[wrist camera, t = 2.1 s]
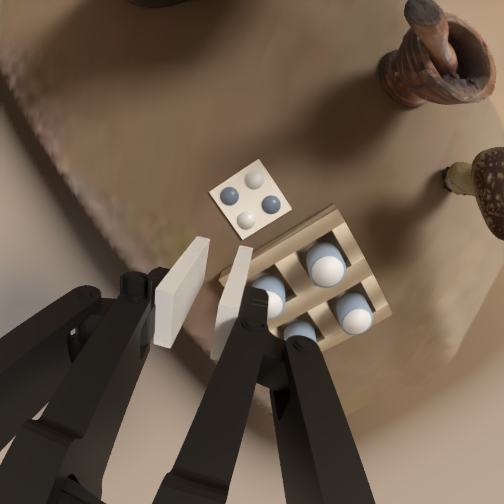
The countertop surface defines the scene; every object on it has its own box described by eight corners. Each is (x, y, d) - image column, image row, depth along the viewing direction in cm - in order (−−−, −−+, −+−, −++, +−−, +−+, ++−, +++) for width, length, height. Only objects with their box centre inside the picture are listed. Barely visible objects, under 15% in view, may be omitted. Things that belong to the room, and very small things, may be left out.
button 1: (244, 284, 37) (241, 300, 33) (273, 268, 36) (272, 282, 32) (263, 309, 38) (261, 326, 34) (291, 294, 36) (292, 310, 33)
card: (209, 191, 36) (208, 192, 35) (258, 158, 34) (258, 158, 34) (242, 239, 38) (242, 240, 37) (291, 208, 36) (291, 209, 35)
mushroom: (480, 200, 33) (552, 233, 19) (433, 219, 34) (500, 264, 20) (466, 133, 30) (544, 140, 16) (415, 149, 32) (488, 160, 18)
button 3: (278, 329, 38) (277, 346, 35) (305, 315, 37) (307, 332, 34) (293, 349, 39) (294, 367, 36) (320, 336, 38) (323, 354, 35)
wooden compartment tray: (222, 269, 39) (218, 280, 36) (332, 203, 35) (337, 208, 32) (287, 354, 43) (287, 367, 40) (386, 302, 39) (392, 313, 36)
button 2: (299, 253, 35) (301, 266, 31) (329, 235, 34) (335, 246, 30) (316, 280, 36) (320, 295, 32) (346, 263, 35) (352, 277, 31)
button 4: (330, 302, 36) (334, 318, 33) (358, 286, 35) (365, 301, 32) (343, 324, 37) (349, 341, 34) (371, 309, 36) (378, 325, 33)
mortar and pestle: (366, 124, 31) (458, 113, 13) (338, 57, 29) (398, -20, 10) (443, 104, 29) (557, 94, 10) (418, 41, 26) (514, -11, 8)
